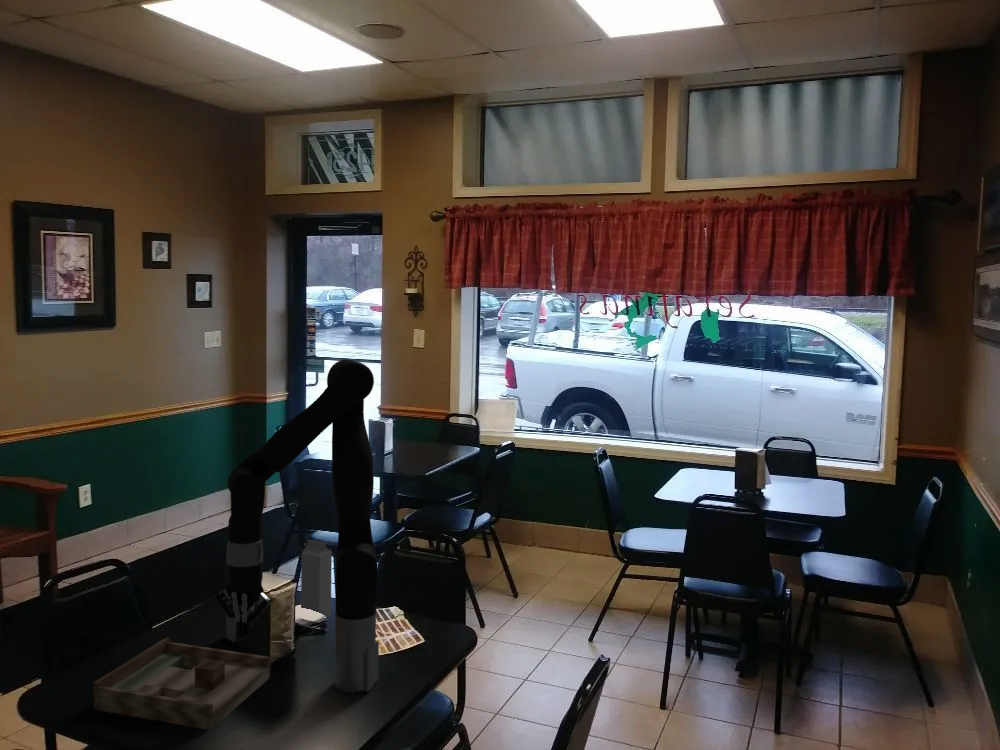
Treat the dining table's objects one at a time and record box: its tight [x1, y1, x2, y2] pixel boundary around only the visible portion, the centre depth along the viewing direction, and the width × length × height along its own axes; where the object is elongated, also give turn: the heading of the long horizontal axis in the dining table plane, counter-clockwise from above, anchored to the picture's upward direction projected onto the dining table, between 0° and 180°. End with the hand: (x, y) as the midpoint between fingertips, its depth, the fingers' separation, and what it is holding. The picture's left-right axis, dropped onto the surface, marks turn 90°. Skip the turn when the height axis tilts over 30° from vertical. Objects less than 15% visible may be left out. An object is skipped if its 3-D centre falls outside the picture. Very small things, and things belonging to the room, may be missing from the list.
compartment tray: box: [93, 636, 271, 731], centre depth 179 cm, size 28×24×6 cm
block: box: [195, 659, 225, 690], centre depth 177 cm, size 4×4×4 cm
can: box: [226, 614, 236, 644], centre depth 207 cm, size 8×8×12 cm
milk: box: [300, 539, 333, 618], centre depth 222 cm, size 6×6×22 cm
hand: (243, 636), depth 174 cm, fingers closed
